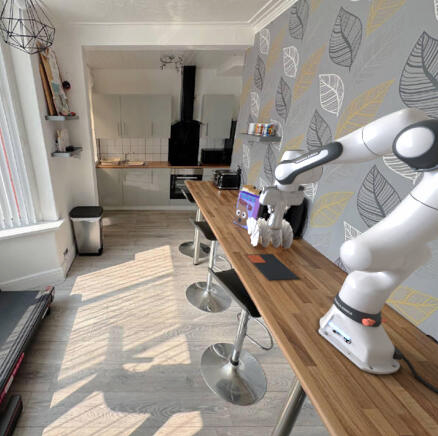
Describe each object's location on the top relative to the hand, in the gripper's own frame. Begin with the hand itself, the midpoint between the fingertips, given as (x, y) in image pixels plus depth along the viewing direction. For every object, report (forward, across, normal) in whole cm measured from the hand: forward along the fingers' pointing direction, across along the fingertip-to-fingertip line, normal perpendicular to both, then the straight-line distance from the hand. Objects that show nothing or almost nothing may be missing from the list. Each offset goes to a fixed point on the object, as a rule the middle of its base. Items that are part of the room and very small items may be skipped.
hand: (276, 213), depth 114 cm
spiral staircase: (+29, +14, +18) cm, 37 cm away
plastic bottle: (+9, 0, 0) cm, 9 cm away
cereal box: (+29, +14, +44) cm, 55 cm away
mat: (+29, +2, -4) cm, 29 cm away
